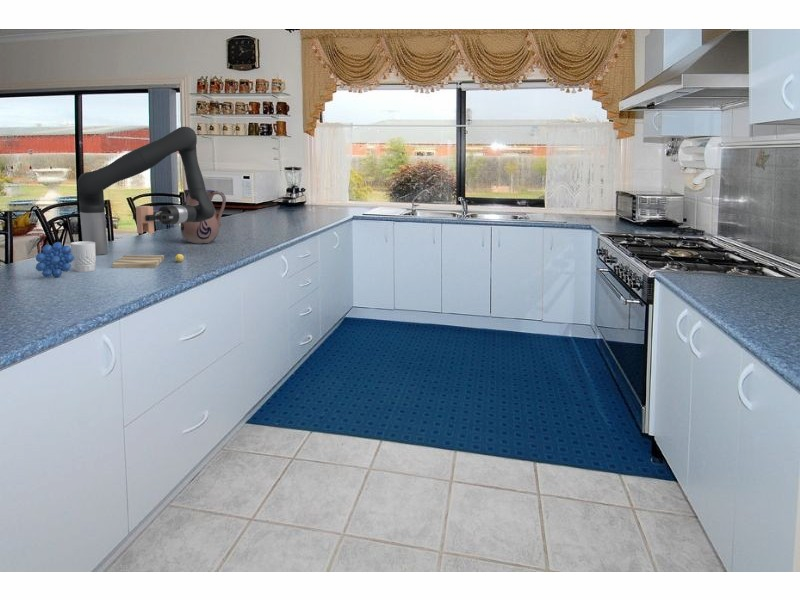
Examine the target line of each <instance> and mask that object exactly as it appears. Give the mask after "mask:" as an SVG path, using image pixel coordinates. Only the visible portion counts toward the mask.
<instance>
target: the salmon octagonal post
mask: <svg viewBox="0 0 800 600" xmlns="http://www.w3.org/2000/svg"><path fill="white" fill-rule="evenodd" d="M153 211H154V206H153V205H151V206H150V205H136V206H135V214H136V219H137V220H136V232H137V234H144V233H147V234H148V235H149V234H155V220H154V221H146V218H145V216H146V215H153Z"/></svg>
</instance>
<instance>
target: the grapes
mask: <svg viewBox="0 0 800 600" xmlns="http://www.w3.org/2000/svg"><path fill="white" fill-rule="evenodd" d="M71 252H72V250H71V246H69V245H64V246H63V244H62V242H60V241H56V242H54V243H53V245H50V244H45V245H44V246H42V252H39V253H37V255H36V256H35V260H36V262H38V263H36V265H35V269H36V271H38V272H41V273H42V276H43V277H45V278H50V277H51V276H53V278H59V277H61V276H62V274H63V272H65V273H66V272H68V271H69V270H70V269H71V267H72V266H71V264H70V263H73V259H74V256H73V254H72V253H71Z"/></svg>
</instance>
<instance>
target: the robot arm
mask: <svg viewBox="0 0 800 600" xmlns="http://www.w3.org/2000/svg"><path fill="white" fill-rule="evenodd" d="M197 142H198V139H197V133H196V131H195V130H194V128H192V127H189V126H180V127H177V128H176V129H175V130H172V132H169V133H168V134H166V135H164V136H163V137H161V138H159V139H157V140H154V141H152V142H149V143H147V144H145V145H142V146H140V147H137V148H135V149H133V150H131V151H129V152H127V153H125V154H123V155H121V156H120V157H119V158H116V159H115V160H114V161H113V162H111V163H110V164H108V165H106V166H102V167H101V168H98V169H95V170H92V171H86V172H83V173H82V174H80V175H79V177H78V179H77V192H78V205H79V207H78V208H79V216H80V217H79V218H80V228H81V240H82V241H90V242H95V250H96V256H98V255H99V256H100V255H106V254H107V255H108V252H109V251H108V236H107V235H108V234H107V223H106V221H107V220H106V210H105V209H106V208H105V196H104V190H106V189H107V188H110V187H111V186H113V185H114V184H116V183H118V182H120V181H124V180H127V179H129V178H132V177H134V176H137V175H140V174H142V173H144V172H146V171H148V170H151V169H152V168H153V167H155V166H156V165H158V164H159V163H161V161H163V160H164V159H165V158H166V157H168V156H170V155H172V154H174V153H177V152H179V153H178V154H179V155H180V158H181V162H182V165H183V169H184V176H185V181H186V186H187V190H188V191H189V195H190V197H191V199H194V200H198V201H199V203H200V204H199V205H196V206H191V205H183V204H181V205H180V204H173V205H163V206H160V207H159V208H158V210H153V215H146V216H145V218H146V221H154V222H160V223H161V224H163V225H165V226H167V225H179V224H181V223H183V222H201V221H204V220H207V219H210V218H212V217H213V216H214V212H215V211H216V209H215V210H214V208H215V205H214V204H212V203H213V201H212V200H210V198H209V196H208V195H207V193H206V190H207V189H206V185H205V180H204V178H203V177H204V176H203V173H202V171H201V168H200V166H199V165H200V164H199V162H198V161H199V160H198V156H197V155H198V153H197ZM211 201H212V202H211ZM132 219H133V220H136V221H137V219H136V213H132Z"/></svg>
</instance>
